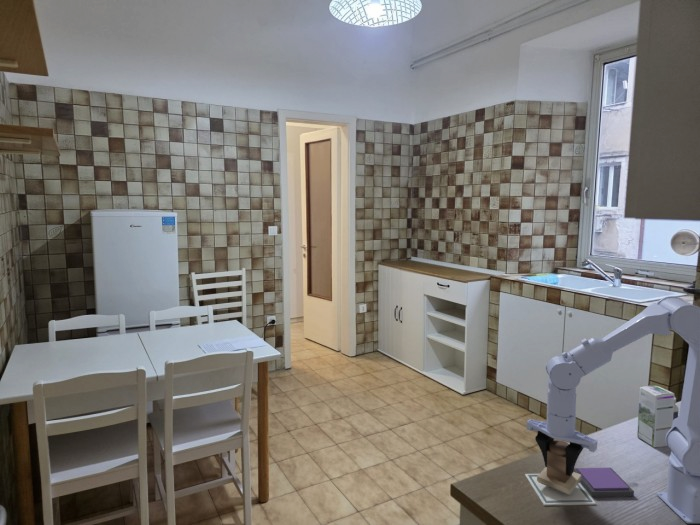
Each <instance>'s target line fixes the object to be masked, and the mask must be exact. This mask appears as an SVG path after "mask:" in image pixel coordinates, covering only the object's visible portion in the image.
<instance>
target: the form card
mask: <svg viewBox="0 0 700 525" xmlns="http://www.w3.org/2000/svg"><path fill="white" fill-rule="evenodd" d="M539 474H540V473H524V477H525V478H526V480H527V481H528V483H529V484H530V485H531V487H532V489H533V490H534V492H535V494H536V495H537V497H538V498H539V500H540V501H541V503H542V504H543V506H582V505H583V506H585V505H586V506H590V505H591V506H592V505H595V506H596V505H597V502H596V501H595V500H594V499H593V497H592V496H591V495H590V494H589V492H588V491H587V490H586V489H585V488H584V486H583V485H582V484H581V483H580V482H579V483H578V484H577V486H576V487H575V488H574V490H573V491H572V492H571V493H570V495H567V494H565V493H562V492H560V491H558V490H555V489H553V488H551V487H548V486H546V485H544V484H541V483H539V482H538V481H537V476H538V475H539Z"/></svg>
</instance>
